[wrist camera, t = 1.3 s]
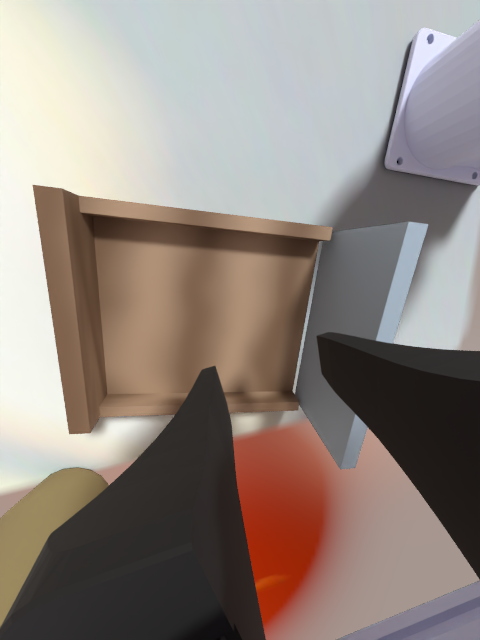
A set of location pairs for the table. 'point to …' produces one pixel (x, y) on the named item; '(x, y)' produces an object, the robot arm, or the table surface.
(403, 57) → the table surface
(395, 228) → the panel
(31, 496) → the squeeze bottle
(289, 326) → the tray
